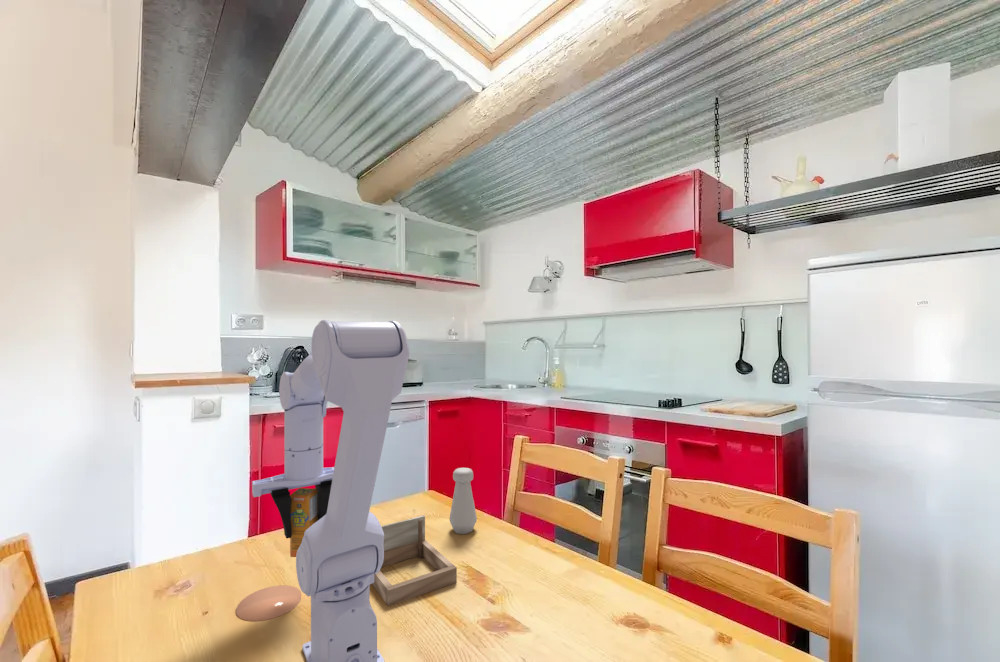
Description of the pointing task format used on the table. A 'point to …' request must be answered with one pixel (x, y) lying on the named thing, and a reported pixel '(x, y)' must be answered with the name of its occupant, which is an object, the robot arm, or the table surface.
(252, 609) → the saucer
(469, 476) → the salt shaker
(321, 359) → the robot arm
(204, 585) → the table surface
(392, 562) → the brown open rectangular frame
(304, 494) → the supplement box
